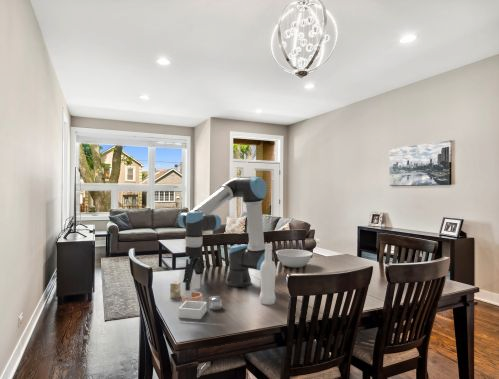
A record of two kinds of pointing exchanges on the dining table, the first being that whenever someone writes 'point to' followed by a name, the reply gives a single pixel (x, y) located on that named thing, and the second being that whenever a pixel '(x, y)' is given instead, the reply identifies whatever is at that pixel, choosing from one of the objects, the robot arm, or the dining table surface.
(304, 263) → the bowl
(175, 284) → the block
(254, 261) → the robot arm
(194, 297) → the terracotta cup
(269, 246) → the bottle
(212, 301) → the tin
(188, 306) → the tray white
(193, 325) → the dining table surface
